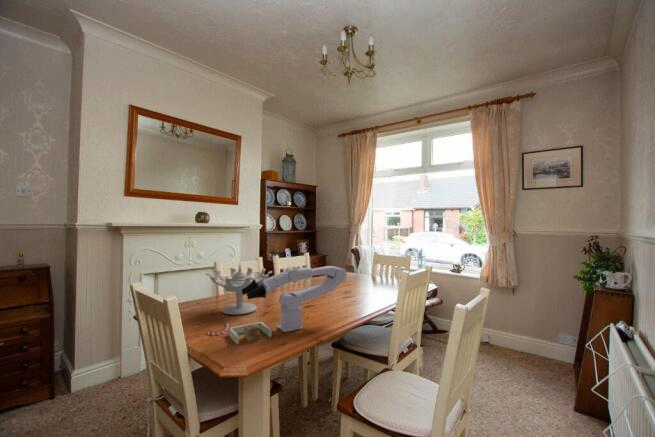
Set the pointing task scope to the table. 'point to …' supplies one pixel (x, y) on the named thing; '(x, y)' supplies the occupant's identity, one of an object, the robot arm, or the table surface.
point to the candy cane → (218, 333)
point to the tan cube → (252, 332)
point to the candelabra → (238, 289)
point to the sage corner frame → (241, 329)
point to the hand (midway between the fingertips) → (244, 294)
